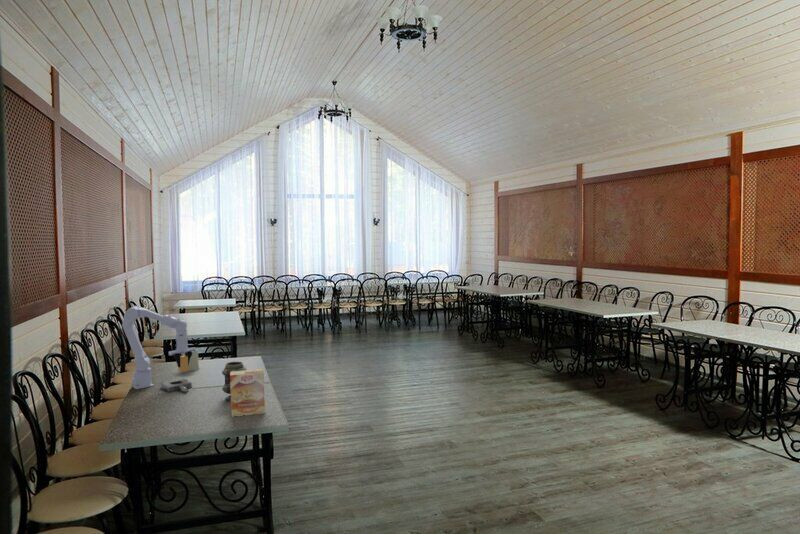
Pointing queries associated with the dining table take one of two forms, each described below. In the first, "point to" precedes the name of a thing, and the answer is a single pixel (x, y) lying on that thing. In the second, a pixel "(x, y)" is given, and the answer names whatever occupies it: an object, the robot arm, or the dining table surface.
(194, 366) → the can
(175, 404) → the dining table surface
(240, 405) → the coffeecake box
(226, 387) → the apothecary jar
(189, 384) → the bracket head
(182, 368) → the tan cardboard box
